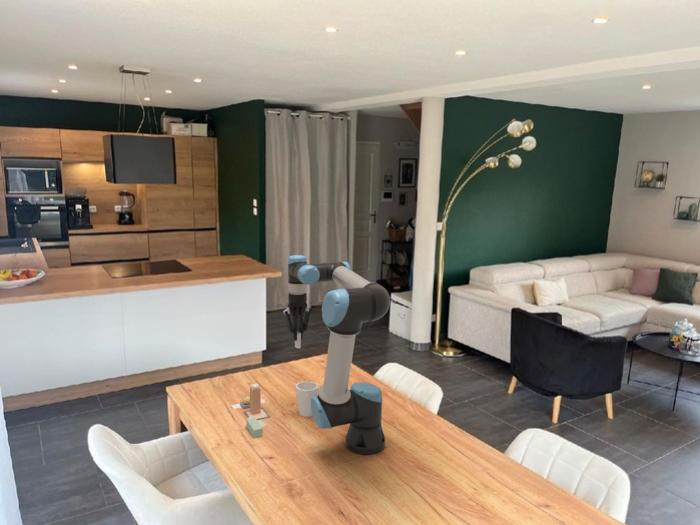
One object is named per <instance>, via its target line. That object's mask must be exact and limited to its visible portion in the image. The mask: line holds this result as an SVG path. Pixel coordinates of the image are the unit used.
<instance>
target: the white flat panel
mask: <svg viewBox="0 0 700 525" xmlns="http://www.w3.org/2000/svg"><path fill="white" fill-rule="evenodd" d="M260 400H261V404H264V403H266V401H265V400H264V399H263V398H260ZM230 406H231V407H230V408H231V409H232V410H236V409H241V408H242V409H243V410H244V411H243V413H244V414H245V416H246V417H247V418H249V417H252V418H254V417H255V418H256V420H257V421H258V422H259V424H260V425H261V427H262V428H264V427H267V425H266V424H265V423H264V421H263V420H265V419H268V418H271V416H270V414H269V413H268V412H267V411H266V410H265V408H263V407H261V413H259V414H255V415H252V413H251V412H250V404H244V403H243V401H239V403H237V404H232V405H230ZM246 409H247V410H246ZM248 409H249V410H248Z"/></svg>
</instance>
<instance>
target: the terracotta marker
mask: <svg viewBox="0 0 700 525" xmlns="http://www.w3.org/2000/svg"><path fill="white" fill-rule="evenodd" d="M249 396H250V408H249V410H250V412H251V413H252V415H255V414H259V413H261V408H262V406H261V404H262V403H261V400H260V399H261V388H260V385H259V383H252V384H251V385H250V386H249Z"/></svg>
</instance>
